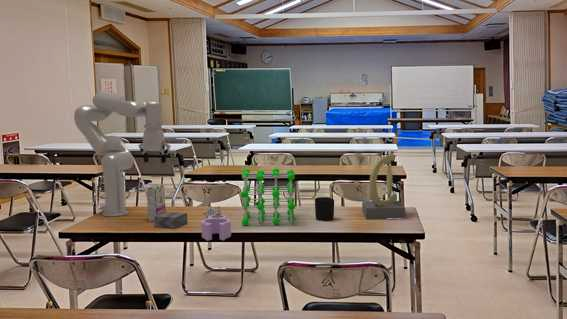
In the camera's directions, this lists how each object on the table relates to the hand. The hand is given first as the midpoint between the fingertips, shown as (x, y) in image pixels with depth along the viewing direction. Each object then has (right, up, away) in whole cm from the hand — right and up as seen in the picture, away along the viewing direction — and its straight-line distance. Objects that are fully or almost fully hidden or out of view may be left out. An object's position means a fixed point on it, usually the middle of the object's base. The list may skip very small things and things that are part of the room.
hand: (154, 162), depth 298 cm
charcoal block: (+10, -29, -11) cm, 33 cm away
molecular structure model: (+55, -28, -3) cm, 62 cm away
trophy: (+112, -26, +5) cm, 115 cm away
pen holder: (+82, -28, -2) cm, 87 cm away
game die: (+29, -29, -7) cm, 42 cm away
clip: (+33, -32, -31) cm, 56 cm away
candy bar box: (0, -28, +3) cm, 28 cm away
